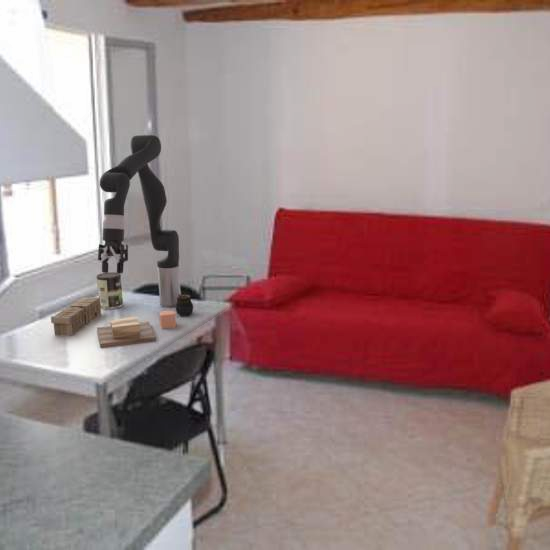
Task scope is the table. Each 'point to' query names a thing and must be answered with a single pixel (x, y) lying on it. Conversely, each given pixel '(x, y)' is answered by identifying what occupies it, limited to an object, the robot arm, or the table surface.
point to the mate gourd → (184, 305)
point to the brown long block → (76, 316)
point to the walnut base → (126, 339)
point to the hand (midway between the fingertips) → (112, 272)
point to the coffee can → (110, 290)
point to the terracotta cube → (167, 319)
